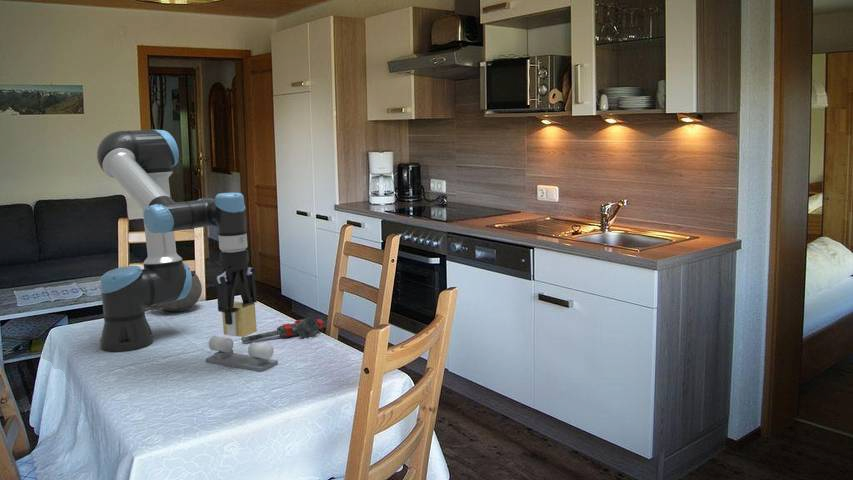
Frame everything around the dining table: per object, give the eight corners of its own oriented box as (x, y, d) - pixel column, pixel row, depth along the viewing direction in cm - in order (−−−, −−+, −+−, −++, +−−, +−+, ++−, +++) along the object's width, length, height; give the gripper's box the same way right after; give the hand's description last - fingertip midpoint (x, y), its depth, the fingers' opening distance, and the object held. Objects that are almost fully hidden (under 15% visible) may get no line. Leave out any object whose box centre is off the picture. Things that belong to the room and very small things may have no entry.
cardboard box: (256, 331, 205) (254, 303, 204) (243, 337, 201) (241, 308, 199) (237, 329, 209) (235, 301, 207) (223, 334, 204) (221, 306, 203)
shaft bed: (206, 361, 208) (204, 339, 207) (223, 354, 214) (222, 333, 213) (261, 371, 199) (259, 348, 197) (277, 363, 205) (276, 341, 204)
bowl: (174, 318, 255) (172, 282, 253) (140, 312, 264) (137, 278, 262) (213, 306, 270) (211, 272, 268) (179, 301, 279) (176, 268, 277)
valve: (316, 330, 244) (330, 335, 231) (237, 345, 234) (247, 351, 220) (313, 311, 244) (327, 314, 230) (234, 326, 233) (244, 330, 220)
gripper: (219, 256, 191) (226, 342, 195) (267, 245, 207) (272, 325, 211) (198, 254, 195) (205, 339, 198) (246, 243, 211) (252, 322, 214)
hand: (240, 332), depth 205 cm, fingers closed on cardboard box, 5 cm apart
